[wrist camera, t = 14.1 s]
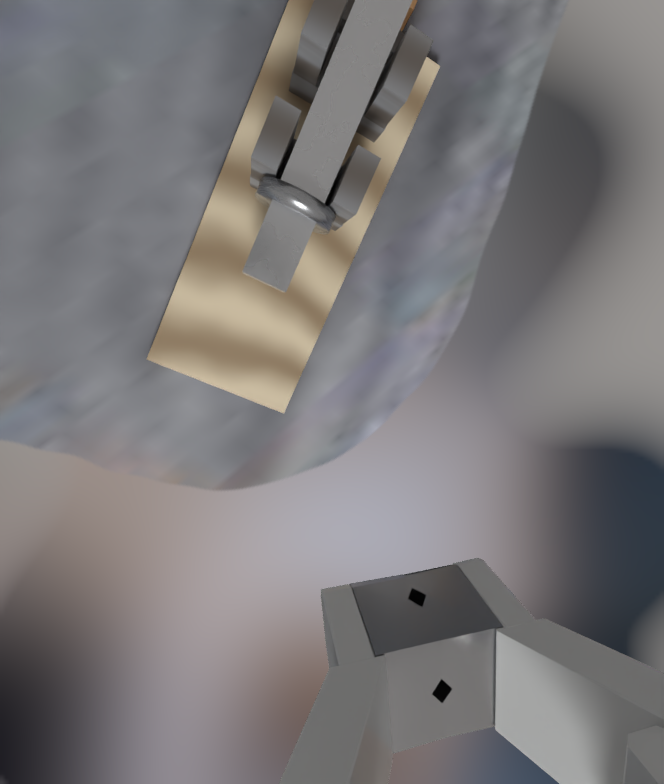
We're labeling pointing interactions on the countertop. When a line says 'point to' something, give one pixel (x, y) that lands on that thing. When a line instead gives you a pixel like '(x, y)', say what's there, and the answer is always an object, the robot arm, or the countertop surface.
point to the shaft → (323, 143)
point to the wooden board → (246, 214)
